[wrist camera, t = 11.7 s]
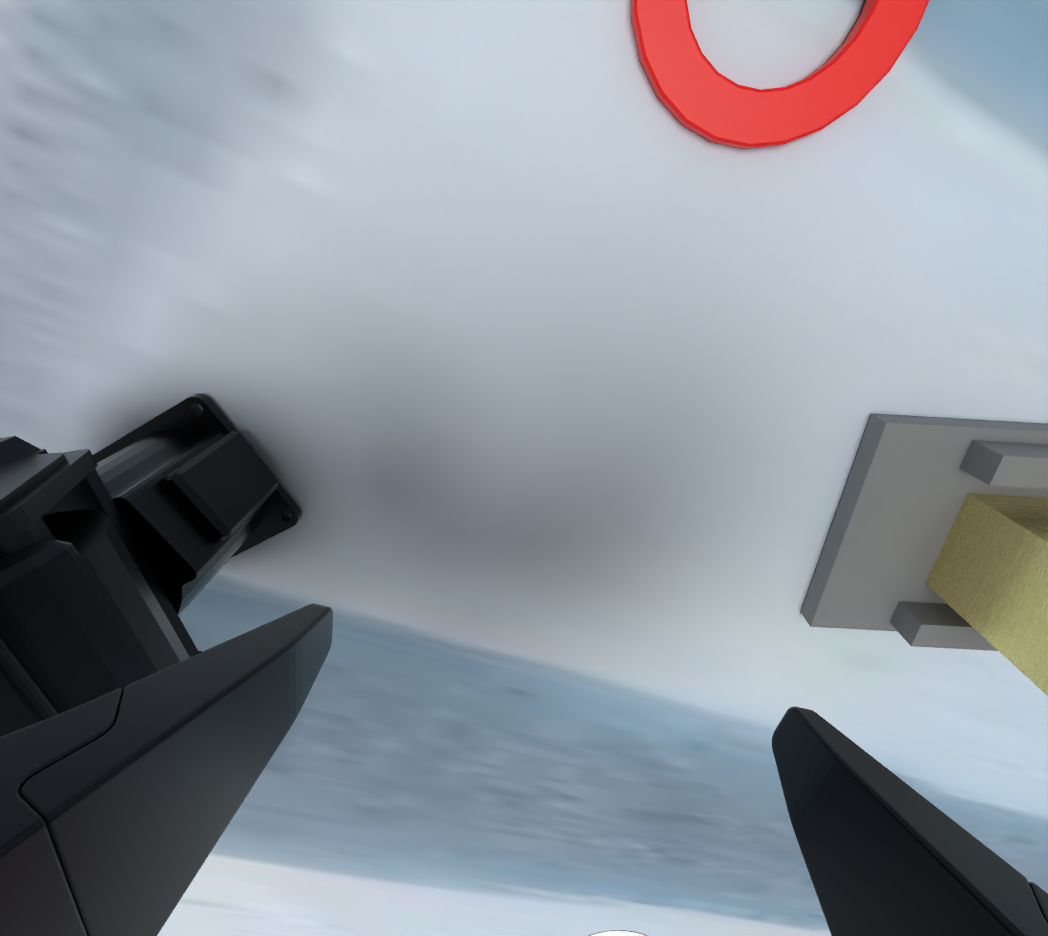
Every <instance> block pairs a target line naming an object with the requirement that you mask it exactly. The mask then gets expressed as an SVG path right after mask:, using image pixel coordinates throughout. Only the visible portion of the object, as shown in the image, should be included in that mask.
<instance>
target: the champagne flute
mask: <svg viewBox="0 0 1048 936" xmlns="http://www.w3.org/2000/svg"><path fill="white" fill-rule="evenodd" d="M591 936H645V935H643V934H639V933H635V932H629V931H608V932H602V933H597V934H594V935H591Z"/></svg>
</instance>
